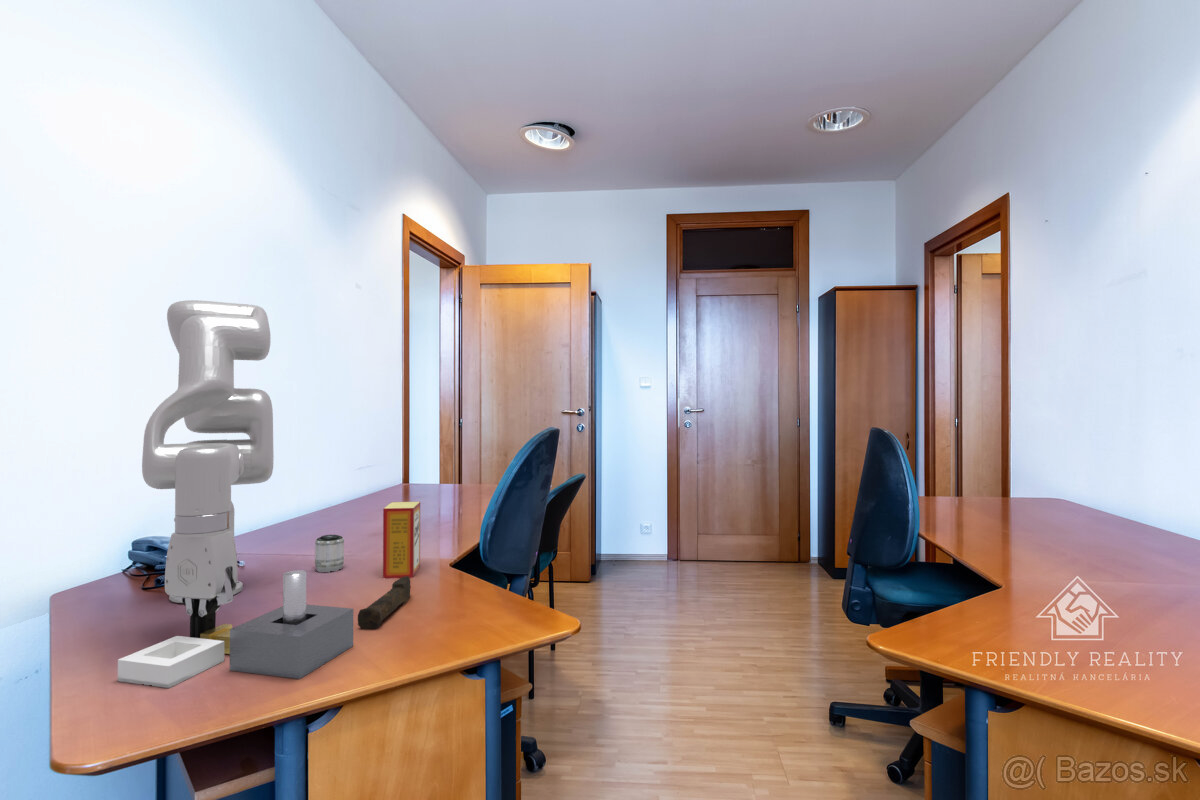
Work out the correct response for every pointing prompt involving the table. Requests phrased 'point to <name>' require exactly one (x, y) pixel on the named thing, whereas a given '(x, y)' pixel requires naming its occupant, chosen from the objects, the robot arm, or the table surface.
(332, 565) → the camera lens
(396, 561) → the baking soda box
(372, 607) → the hand tool
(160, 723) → the table surface
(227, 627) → the key
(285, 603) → the grey cylindrical peg
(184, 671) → the tray
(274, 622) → the socket
